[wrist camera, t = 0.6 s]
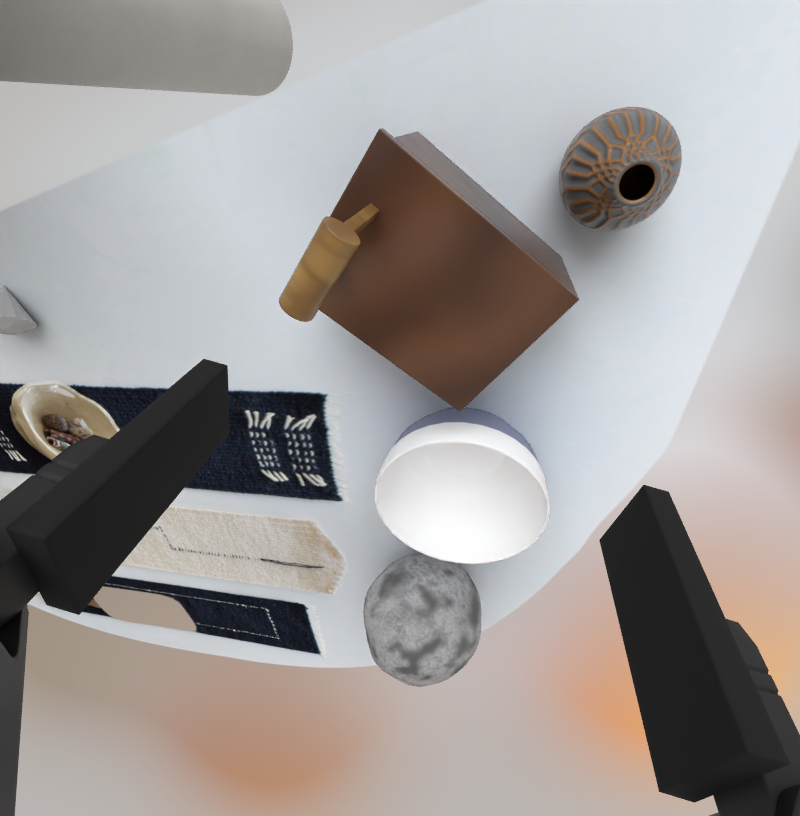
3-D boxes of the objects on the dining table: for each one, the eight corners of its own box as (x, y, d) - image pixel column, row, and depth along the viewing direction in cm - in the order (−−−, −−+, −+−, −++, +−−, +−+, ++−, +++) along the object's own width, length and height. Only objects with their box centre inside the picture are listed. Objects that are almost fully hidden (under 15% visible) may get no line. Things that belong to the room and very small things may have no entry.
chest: (339, 257, 38) (303, 291, 31) (417, 131, 32) (394, 137, 25) (467, 354, 41) (460, 406, 34) (561, 257, 35) (577, 294, 28)
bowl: (515, 509, 51) (518, 580, 43) (385, 477, 52) (365, 541, 45) (564, 400, 42) (579, 466, 34) (405, 365, 43) (384, 420, 35)
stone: (499, 551, 56) (499, 673, 44) (460, 610, 65) (452, 725, 53) (390, 516, 56) (360, 628, 44) (367, 580, 65) (336, 687, 53)
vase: (626, 80, 28) (670, 70, 21) (678, 168, 30) (734, 186, 23) (534, 164, 31) (545, 179, 24) (587, 237, 34) (611, 271, 26)
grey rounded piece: (-18, 271, 43) (-23, 320, 42) (53, 292, 48) (48, 335, 48) (-49, 278, 45) (-54, 325, 45) (22, 297, 51) (17, 339, 50)
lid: (293, 284, 31) (232, 337, 24) (382, 127, 24) (334, 134, 17) (460, 406, 34) (450, 485, 27) (577, 295, 28) (605, 359, 20)
